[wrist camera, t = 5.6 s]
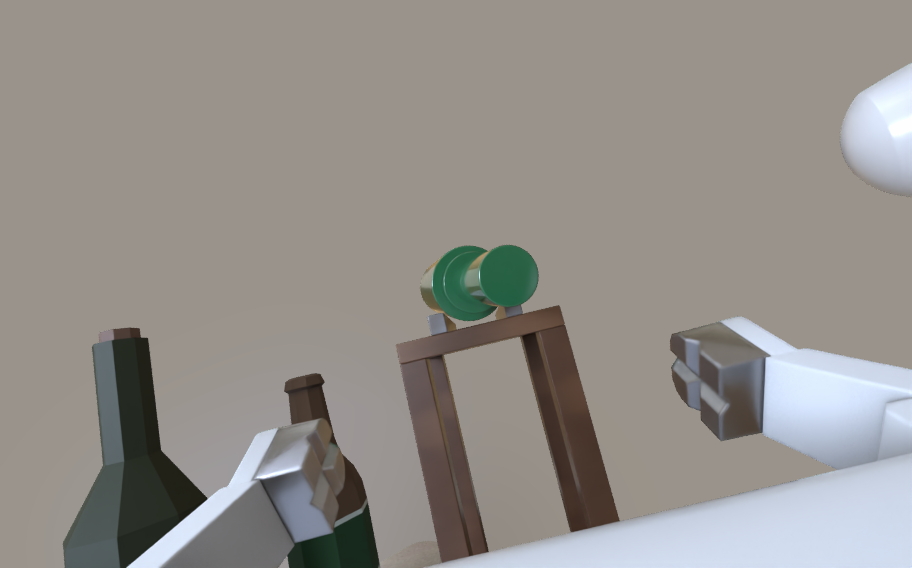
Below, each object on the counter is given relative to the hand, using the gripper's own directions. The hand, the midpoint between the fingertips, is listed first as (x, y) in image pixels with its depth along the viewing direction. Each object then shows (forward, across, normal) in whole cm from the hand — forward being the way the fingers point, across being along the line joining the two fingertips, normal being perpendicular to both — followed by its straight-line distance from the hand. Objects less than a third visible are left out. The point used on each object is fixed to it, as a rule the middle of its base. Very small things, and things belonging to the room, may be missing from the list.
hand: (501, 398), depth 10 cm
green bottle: (+15, 0, +5) cm, 16 cm away
